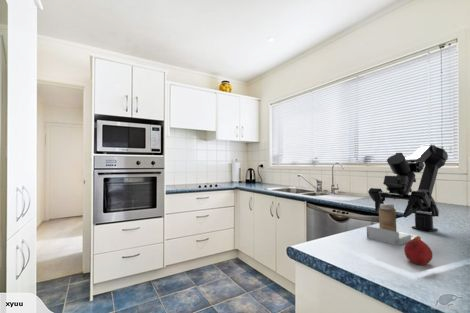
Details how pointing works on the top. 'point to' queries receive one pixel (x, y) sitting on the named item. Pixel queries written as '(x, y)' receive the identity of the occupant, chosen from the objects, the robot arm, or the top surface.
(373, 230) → the lane rack
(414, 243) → the onion
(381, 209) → the pepper mill
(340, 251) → the top surface
